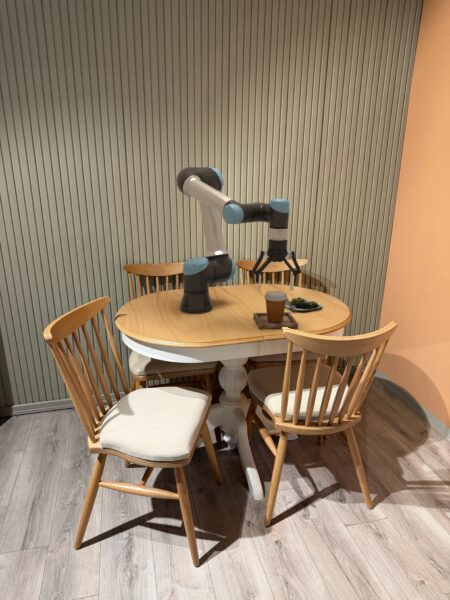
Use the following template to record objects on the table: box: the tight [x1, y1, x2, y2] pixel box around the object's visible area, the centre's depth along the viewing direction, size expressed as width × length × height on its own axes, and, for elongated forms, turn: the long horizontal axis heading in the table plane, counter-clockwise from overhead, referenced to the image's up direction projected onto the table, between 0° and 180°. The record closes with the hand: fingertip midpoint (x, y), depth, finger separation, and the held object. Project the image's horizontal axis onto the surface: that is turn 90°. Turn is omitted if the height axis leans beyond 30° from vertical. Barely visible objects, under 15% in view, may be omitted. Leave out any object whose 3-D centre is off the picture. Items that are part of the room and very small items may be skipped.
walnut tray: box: [253, 311, 299, 330], centre depth 176 cm, size 16×16×2 cm
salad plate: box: [285, 296, 323, 314], centre depth 198 cm, size 19×18×5 cm
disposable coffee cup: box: [264, 290, 288, 323], centre depth 174 cm, size 10×10×12 cm
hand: (275, 290), depth 172 cm, fingers open, 13 cm apart
